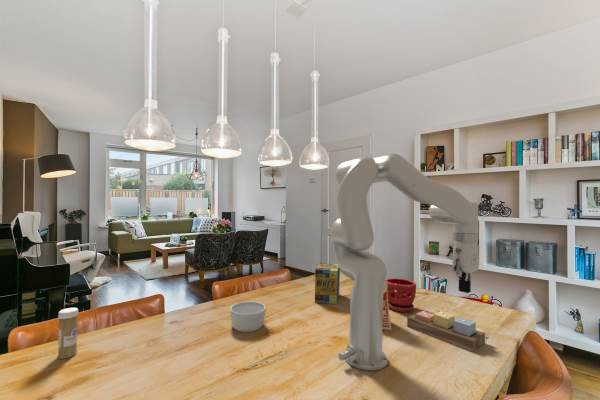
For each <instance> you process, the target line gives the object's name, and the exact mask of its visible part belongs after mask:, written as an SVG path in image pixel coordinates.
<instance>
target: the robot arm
mask: <svg viewBox="0 0 600 400" xmlns="http://www.w3.org/2000/svg"><path fill="white" fill-rule="evenodd" d="M335 180H336V182H337V183H338V184H339V189H338V191H337V196H336V205H337V209H338V216H339V218H337V219H336V220H335V221H334V223H333V224H332V226H331V229H330V230H331V231H330V239H331V242H332V247H333V250H334V255H335V259H336V262H337V264H338V266H339V268H340V273H342V274H343V275H344V276H345V277H347V278H349V279H351V280H353V281H354V283H353V286H352V290H351V291H350V296H349V298H350V299H349V306H350V307H349V308H350V309H349V310H350V311H349V343H348V344H347V348H346V349H345V350H344V351H342V352H339V353H338V354H337V355H338V359H339V361H346V362H347V363H348V364H349V365H351V366H352V367H354V368H356V369H358V370H359V369H360V370H363V371H379V370H382V369H383V368H385V367H386V366H387V365H388V356H387V354H386V353H385V352H384V351H383V330H384V329H383V292H384V285H385V281H386V280H387V272H388V269H387V265H386V264H385V262H384V260H383V259H381V258H380V257H379V256H378V255H376V254H374V253H371V252H368V251H366V250H369V249H370V248H371V247H372V246H373V244H374V242H375V241H374V240H375V233H374V230H373V226H372V222H371V221H372V220H371V218H370V213H369V208H368V203H367V202H368V201H367V197H368V193H369V190H370V188H371V187H372V185H373V184H376V183H382V182H383V183H384V182H387V183H389V184H390V185H391V186H393V187H394V188H396V189H397V190H398V191H399V192H401V193H402V194H403V195H405V196H406V197H407V198H408V199H410V200H412V201H415V202H418V203H421V204H426V205H430V206H429V208H428V214H429V218H431V219H432V220H433V222H437V223H441V224H448V225H449V224H450V225H452V242H453V247H452V248H453V249H452V259H451V260H452V261H451V262H452V270H453V271H454V272H455V277H456V276H457V279H458V291H459V292H462V293H466V294H469V293H471V291H472V290H471V289H472V288H471V287H472V282H471V280H472V274H473V273H474V272H477V271H478V270H479V269H480V264H479V263H480V260H479V246H478V243H479V206H478V203H477V202H475V201H469V199H467V198H466V197H465V196H464V195H463V194H462V193H461V192H459V191H457V190H456V189H453V188H452V187H449V186H448V185H445V184H442V183H441V182H439V181H436V180H434V179H431V178H429V177H427V176H426V175H425V174H424V173H423V172H421V171H420V170H419V169H418V168H417V167H415V166H414V165H413V164H412V163H411V162H410V161H408V160H407V159H406V158H405V157H403V156H402V155H400V154H398V153H388V154H383V155H380V156H375V157H368V156H362V157H361V156H360V157H357V158H354V159H350V160H346V161H344V162H342V163H340V164H339V165H338V166H337V168H336V170H335Z"/></svg>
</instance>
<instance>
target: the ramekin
mask: <svg viewBox="0 0 600 400" xmlns="http://www.w3.org/2000/svg"><path fill="white" fill-rule="evenodd" d="M266 311H267V307H266V305H265V304H263V303H261V302H258V301H252V300H251V301H240V302H237V303H235V304H232V305H231V306H230V308H229V313H230V320H231V325H232V328H233V329H234V330H236V331H237V332H243V333H249V332H251V333H252V332H255V331H257V330H259V329H261V327H263V325H264V322H265V316H266Z"/></svg>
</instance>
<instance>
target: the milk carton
mask: <svg viewBox="0 0 600 400" xmlns="http://www.w3.org/2000/svg"><path fill="white" fill-rule="evenodd" d="M389 310H390V308H389V307H388V292H387V281H385V285H384V292H383V330H389V331H392V329H393V328H392V324H391V318H390V317H391V316H390V311H389Z"/></svg>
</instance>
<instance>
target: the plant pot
mask: <svg viewBox="0 0 600 400" xmlns="http://www.w3.org/2000/svg"><path fill="white" fill-rule="evenodd" d="M386 281H387V292H388V308H389V309H391V310H394V311H396V312H401V313H402V312H410V311H412V310H413V309H414V308H415V306H414V304H413V303H414V301H415V298H416V293H417V284H416V282H415V281H412V280H409V279H403V278H386Z"/></svg>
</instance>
